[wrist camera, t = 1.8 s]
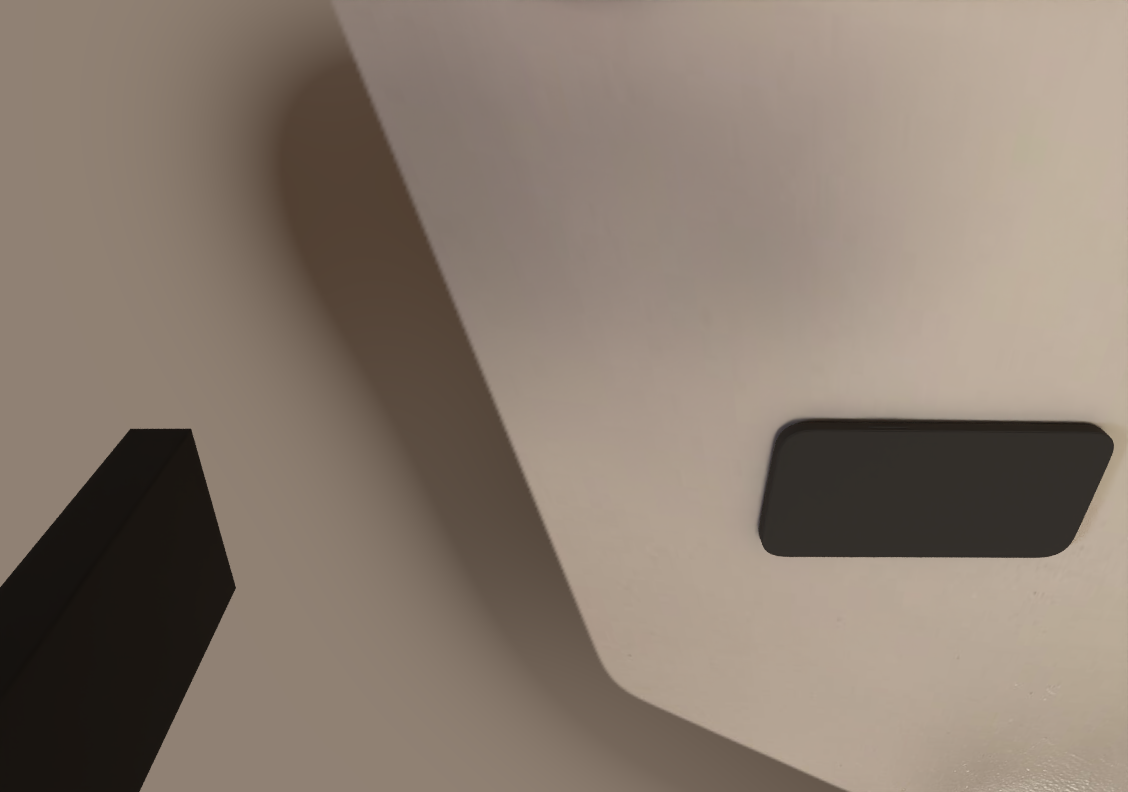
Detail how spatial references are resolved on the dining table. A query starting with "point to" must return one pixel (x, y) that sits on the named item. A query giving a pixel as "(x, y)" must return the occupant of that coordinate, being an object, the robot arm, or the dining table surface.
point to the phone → (930, 489)
